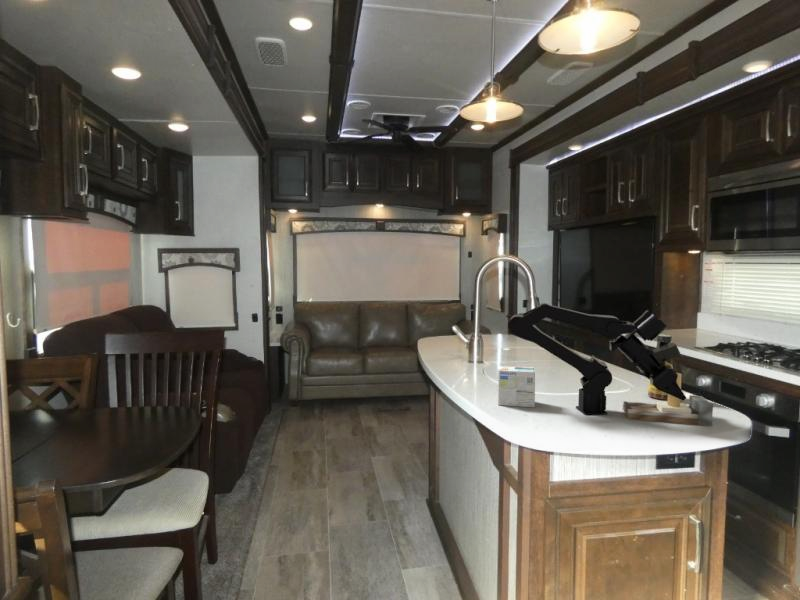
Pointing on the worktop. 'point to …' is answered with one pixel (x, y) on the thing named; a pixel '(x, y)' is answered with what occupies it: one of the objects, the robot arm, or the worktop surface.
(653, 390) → the sauce bottle
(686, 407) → the rail carriage
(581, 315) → the robot arm
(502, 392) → the light bulb box
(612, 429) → the worktop surface
